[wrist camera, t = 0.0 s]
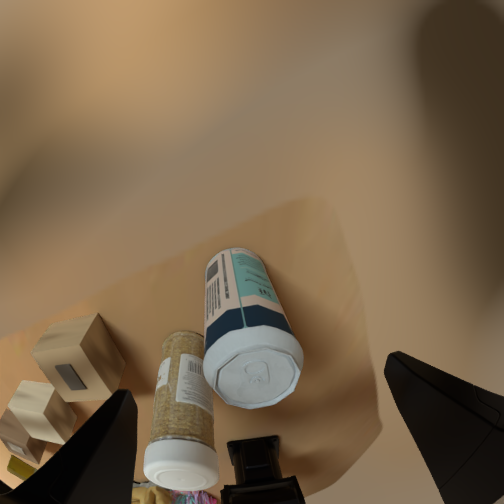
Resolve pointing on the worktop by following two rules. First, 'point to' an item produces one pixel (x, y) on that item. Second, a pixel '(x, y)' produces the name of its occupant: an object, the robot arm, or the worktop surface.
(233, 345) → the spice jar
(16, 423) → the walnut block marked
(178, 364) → the granule seasoning jar
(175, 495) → the pastel sphere sculpture
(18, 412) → the plain birch block
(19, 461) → the medication box
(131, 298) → the worktop surface
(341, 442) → the worktop surface
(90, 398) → the oak block marked
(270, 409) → the worktop surface
